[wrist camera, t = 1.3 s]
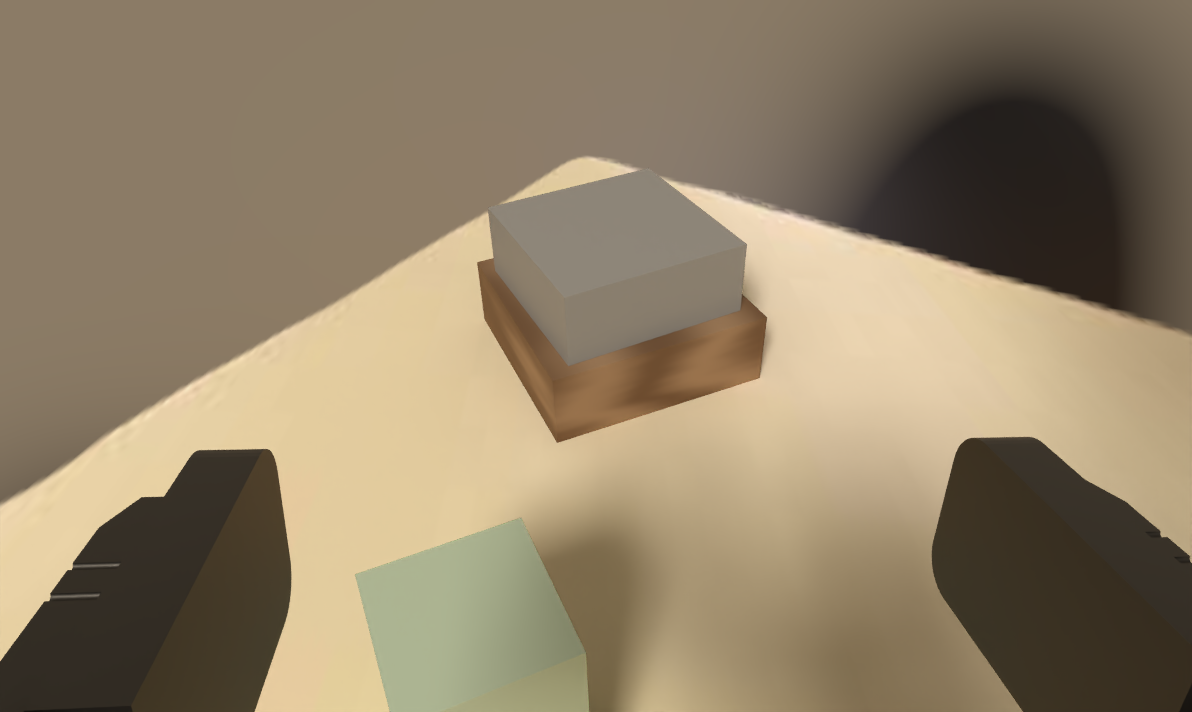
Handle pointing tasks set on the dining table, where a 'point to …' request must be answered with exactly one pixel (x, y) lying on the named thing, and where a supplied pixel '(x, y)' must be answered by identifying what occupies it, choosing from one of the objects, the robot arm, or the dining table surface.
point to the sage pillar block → (474, 629)
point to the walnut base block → (621, 364)
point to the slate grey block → (615, 263)
